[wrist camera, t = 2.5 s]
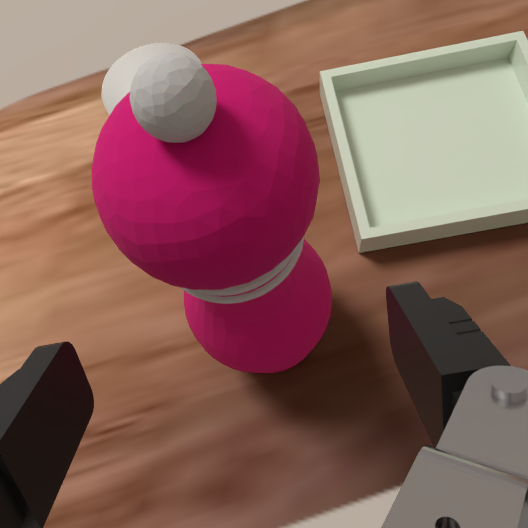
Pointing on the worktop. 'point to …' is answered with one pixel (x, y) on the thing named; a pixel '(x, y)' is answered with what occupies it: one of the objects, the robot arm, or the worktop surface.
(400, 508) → the robot arm
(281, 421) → the worktop surface
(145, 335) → the worktop surface
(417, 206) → the tray
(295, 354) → the pepper mill
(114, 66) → the grey rounded block
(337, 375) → the worktop surface
